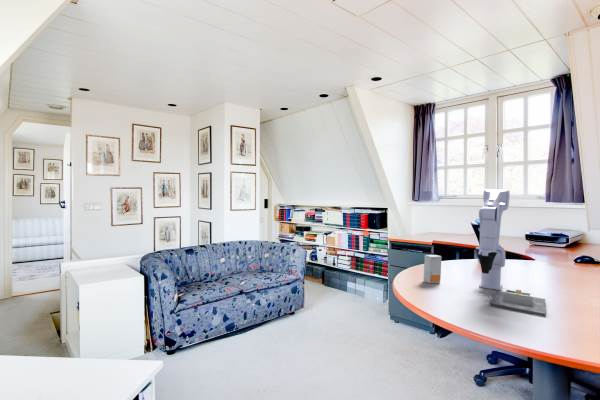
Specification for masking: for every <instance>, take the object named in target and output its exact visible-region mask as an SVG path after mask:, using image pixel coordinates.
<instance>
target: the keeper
mask: <svg viewBox="0 0 600 400" xmlns="http://www.w3.org/2000/svg"><path fill="white" fill-rule="evenodd" d="M515 291H516V294H521V292H522V290H521V289H515ZM489 307H493V308H499V309H502V310H503V309H504V310H508V311H514V312H519V313H524V314H528V315H534V316H539V317H544V318H545V317H546V315H547V314H546V313H547V312H546V309H547V308H546V299H545V298H541V297H536V296H535V297H534V296H533V305H528V304H522V303H517V302H511V301H506V300H503V291H501V290H495V292H494V294H493V297H492V298H491V300H490V302H489Z"/></svg>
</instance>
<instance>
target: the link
mask: <svg viewBox="0 0 600 400" xmlns="http://www.w3.org/2000/svg"><path fill="white" fill-rule="evenodd" d="M502 292H503V300H506V301H511V302H517V303H522V304H528V305H533V297H534V293H532V292H531V293H530V292H525V291H521V294H516V290H512V289H507V288H504V289H503V291H502Z"/></svg>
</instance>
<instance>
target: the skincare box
mask: <svg viewBox="0 0 600 400" xmlns="http://www.w3.org/2000/svg"><path fill="white" fill-rule="evenodd" d="M442 258H443V256H441V255H437V254H425V255H424V261H423V262H424V265H423V281H424V282H425V283H427V282H428V283H427V284H440V283H441V277H442V275H441V274H442Z"/></svg>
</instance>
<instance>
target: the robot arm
mask: <svg viewBox="0 0 600 400" xmlns="http://www.w3.org/2000/svg"><path fill="white" fill-rule="evenodd" d="M483 190H484V191H483V206H482V207H480V208H479V209H478V210H479V211H478V219H479V220H478V221H479V223H478V225H479V245H478V246H476V247H475V250H478V254H477V255H476V256H477V261H478V264H479V265H480V268H481V269H480V270H481V275H480V276H481V278H480V279H481V280H480V284H479V285H478V288H484V289H491V290H495V291H501V290H502V288H503V284H501V277H502V268H503V267H505V266H506V250H505V248H504V247H503V246H501V245H500V234H501V233H500V232H501V222H502V215H503V214H504V211H505V212H506V210H508V208H509V205H510V189H508V188H507V189H500V188H499V189H495V188H492V189H491V188H490V189H489V188H485V189H483Z"/></svg>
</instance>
